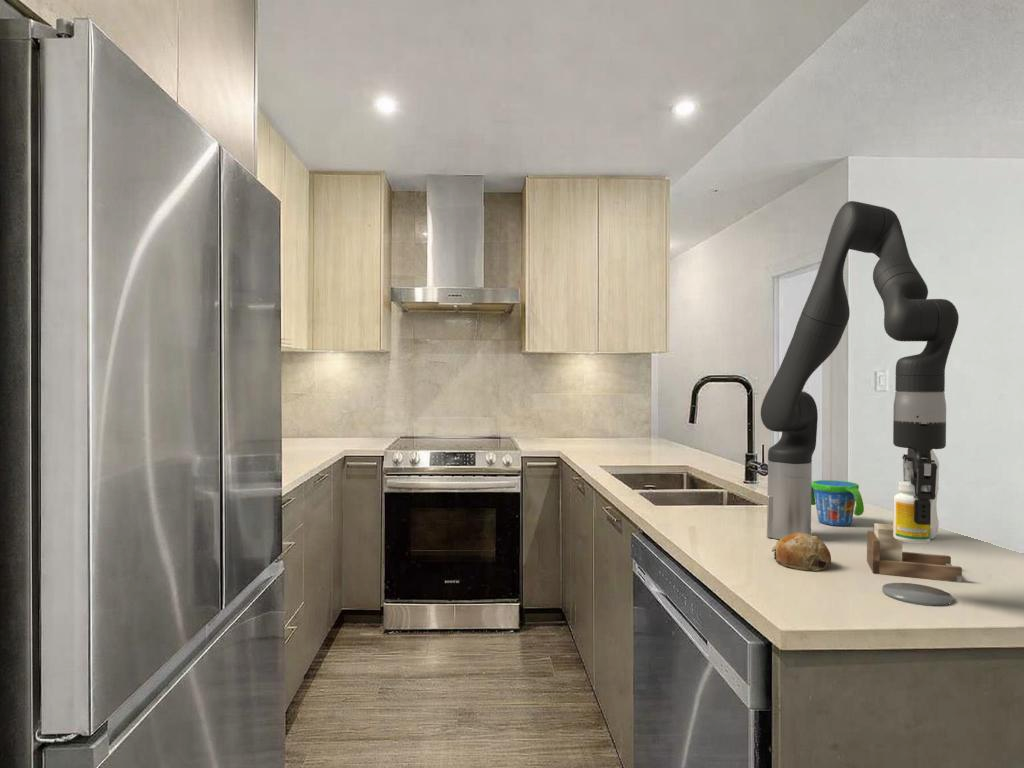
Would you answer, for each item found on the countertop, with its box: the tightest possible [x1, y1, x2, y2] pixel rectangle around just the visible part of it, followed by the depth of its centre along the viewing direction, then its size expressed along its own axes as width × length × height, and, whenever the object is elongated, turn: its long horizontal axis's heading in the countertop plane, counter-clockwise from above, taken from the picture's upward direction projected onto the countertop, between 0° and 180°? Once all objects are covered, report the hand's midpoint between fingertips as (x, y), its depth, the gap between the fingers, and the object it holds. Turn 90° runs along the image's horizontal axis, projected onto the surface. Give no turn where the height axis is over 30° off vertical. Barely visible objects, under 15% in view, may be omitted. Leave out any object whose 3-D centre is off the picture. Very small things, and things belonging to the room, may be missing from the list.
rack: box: [866, 523, 963, 583], centre depth 125 cm, size 14×9×8 cm, turn 69°
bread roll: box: [770, 532, 832, 573], centre depth 130 cm, size 10×10×8 cm
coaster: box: [881, 582, 953, 606], centre depth 111 cm, size 10×10×1 cm
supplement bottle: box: [892, 480, 931, 544], centre depth 112 cm, size 5×5×10 cm
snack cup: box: [811, 479, 865, 527], centre depth 166 cm, size 16×10×10 cm
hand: (918, 519), depth 111 cm, fingers closed on supplement bottle, 5 cm apart
